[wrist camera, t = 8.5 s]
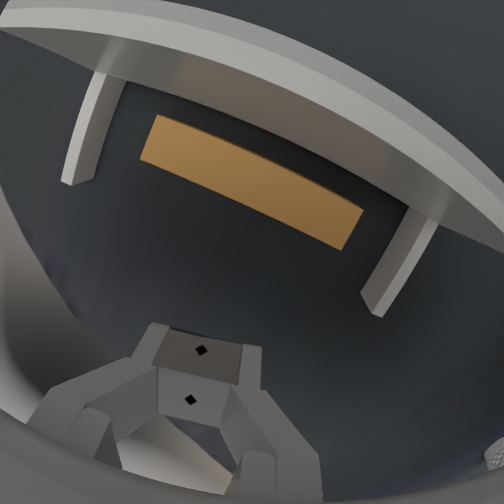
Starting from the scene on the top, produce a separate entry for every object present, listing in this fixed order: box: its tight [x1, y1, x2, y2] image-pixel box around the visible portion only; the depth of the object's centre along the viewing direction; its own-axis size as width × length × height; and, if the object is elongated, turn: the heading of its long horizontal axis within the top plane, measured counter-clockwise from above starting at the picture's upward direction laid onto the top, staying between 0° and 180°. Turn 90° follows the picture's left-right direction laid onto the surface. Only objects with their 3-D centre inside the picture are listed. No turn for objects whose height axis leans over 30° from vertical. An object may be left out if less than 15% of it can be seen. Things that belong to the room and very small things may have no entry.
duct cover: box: [0, 0, 504, 253], centre depth 11 cm, size 24×9×1 cm
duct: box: [61, 71, 438, 317], centre depth 18 cm, size 24×8×3 cm, turn 66°
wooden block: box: [140, 115, 364, 250], centre depth 19 cm, size 14×3×2 cm, turn 65°
